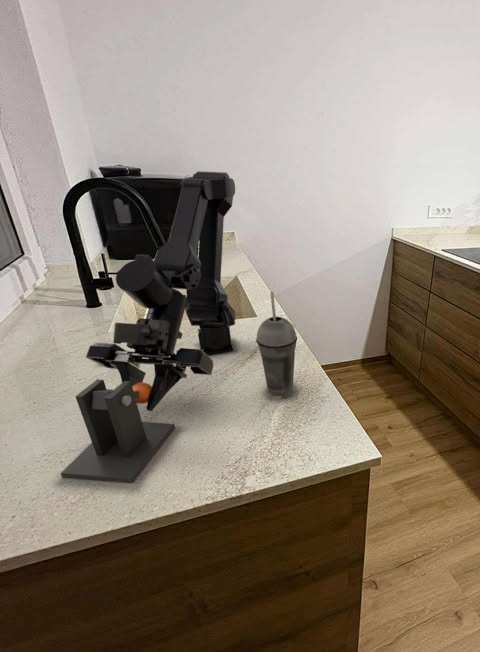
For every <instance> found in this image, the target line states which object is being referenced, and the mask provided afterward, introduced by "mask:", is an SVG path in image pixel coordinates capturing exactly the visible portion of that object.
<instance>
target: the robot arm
mask: <svg viewBox="0 0 480 652" xmlns="http://www.w3.org/2000/svg"><path fill="white" fill-rule="evenodd" d="M179 191H180V195H179V199H178V202H177V207H176V211H175V214H174V219H173V222H172V226H171V230H170V234H169V238H168V240H167V242H166V243H164V244H163V245H161V247H159V248H158V249H157V252H156V254H155V257H154V259H153V258H152V257H151V256H150V255H149V254H136V255H135V258H134V260H131V261H129V262H127V263H126V264H124V265H123V266H122V267H121V268H120V269H119V270H117V272H116V276H115V282H116V285H117V287H118V288H119V289H121V291H122V292H124V293H125V294H126V295H127V296H129V297H130V298H131V299H132V300H133V301H134V302H136V303H137V304H138V305H139V306H141V307H142V308H144V309H146V311H145V313H144V317H143V318H141V317H139V318H138V319H137V320H136V323H130V322H128V323H126V322H114V327H113V328H114V329H113V342H112V343H107V342H94V343H93V344H91V345H89V347H88V349H87V352H86V355H85V358H86V359H88V360H90V361H92V362H94V363H96V364H98V365H100V366H101V367H104V368H106V369H109V370H110V369H111V370H117V371H118V374H119V377H120V379H121V383H123V382H124V381H131V384H132V386H134V385H135V384H137V383H141V382H144V379H145V377H146V375H147V373H146V372H145V371H144V370H142V369H140V367H141V365H153V366H154V367H153V368H154V379H153V381H152V385H151V386H152V388H151V392H150V395H149V398H148V402H147V403H146V411H148V412H152V411H153V410H154V409H155V408H156V407H157V406H158V404H159V403H160V402H161V401H162V400H163V398H165V396H166V395H167V394H168V393H169V392H170V390H172V388H173V387H174V386H175V385H176V384H177V383H179V381H180V380H181V379H186V378H187V377H188V374H187V373H186V372H187V368H190V370H191V372H192V373H193V374H194V375H203V376H211V375H212V373H213V369H214V361H213V359H212V358H211V357H210V356H209V355H213V354H220V353H227V352H232V351H234V346H233V343H232V336H231V329H230V327H231V326H235V325H236V311H235V309H234V308H233V307H232V306H231V304H230V303H229V301H228V293H227V291H226V290H225V288H224V286H223V285H222V282H221V281H222V260H223V241H224V220H225V216H226V215H227V214H228V212H229V211H230V210H231V208H232V206H233V202H234V196H235V194H236V182H235V180H234V179H233V178H231V176H230V175H229V173H227V172H224V171H222V172H221V171H219V172H218V171H201V170H198V171H196V172H195V173H194V174H193V175H192V176H188V177H184V178H183V179H181V180H180V182H179ZM180 290H185V293H186V294H183V293H182V292H181V291H180ZM184 314H186V316H187V318H188V320H189V323H190V326H191V327H195V326H197V327H199V328H197V329H196V332H197V338H198V344H199V348H187V347H180V348H179V349H178V350H176V353H175V349H176V345H177V341H178V340H182V337H183V332H181V331H180V329H181V325H182V323H183V322H182V321H183V318H184ZM123 343H124V344H126V347H127V348H129V349H130V350H134V351H129V350H126V349H124V348H123V347H122V346H120V344H123Z"/></svg>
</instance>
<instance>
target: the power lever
mask: <svg viewBox="0 0 480 652" xmlns="http://www.w3.org/2000/svg"><path fill="white" fill-rule="evenodd" d="M132 387H133V391H134V395H135V398H136V402H137V404H140V405H141V404H142V405H143V404H147V403H148V398H149V395H150V392H151V388H152V385H151V384H149V383H147V382H144V381H143V382H141V383H137V384H135V385H134V386H132ZM113 390H114V389H108V388H106V390H99V391H93V402H92V409H102V410H108V408H107V405H106V402H105V399H104V398H105V397H106V396H108V395H109V394H110V393H111V392H112V391H113Z"/></svg>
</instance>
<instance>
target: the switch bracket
mask: <svg viewBox="0 0 480 652" xmlns="http://www.w3.org/2000/svg"><path fill="white" fill-rule="evenodd" d="M106 389H107V386H106V383H105V380H104V379H99V378H98V379H95V380H94V381H93V382H91V383H90V384H89V385H88V386H87V387H85V388H84V389H82V390H81V391H80V392H79V393H77V394H76V395H75V400H76V403H77V405H78V408H79V411H80V414H81V416H82V419H83V422H84V424H85V428H86V430H87V433H88V435H89V438H90V441H91V443H90V444H88V445H87V446H86V447H85V448H84V450H83V451H81V453H79V454H78V455H77V456H76V457H75V458H74V459H73V460H72V461H71V462H70V463H69V464H68V465H67V466H66V467H65V468H64V469H63V470H62V471H61V472H60V476H61V478H62V479H71V480H73V479H74V480H85V481H86V480H87V481H88V480H89V481H99V482H112V483H114V482H115V483H127V484H134V483H135V481H136V480H137V479H138V477H139V476H140V474H141V473H142V472H143V471H144V469H145V468H146V467H147V465H148V464H149V463H150V462H151V460H152V459H153V458H154V456H155V455H156V454H157V452H158V451H159V450H160V448H161V447H162V446H163V445H164V444H165V442H166V441H167V440H168V438H169V437H170V435H171V434H172V433H173V432H174V430H175V429H176V426H175V424H174V423H166V422H152V421H143V420H142V417H141V416H142V415H141V413H140V410H139V405H138V403H137V402H136V398H135V395H134V391H133V387H132V384H131V381H124V382H123V383H122V382H121V383H119V384H118V386H116V387H115V388H114V389H112V390H113V391H112V392H111V393H110V394H109V395H108V396H106V397H105V398H104V399H105V402H106V405H107V408H108V410H102V409H92V402H93V391H99V390H106Z"/></svg>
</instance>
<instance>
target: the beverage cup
mask: <svg viewBox="0 0 480 652" xmlns="http://www.w3.org/2000/svg"><path fill="white" fill-rule="evenodd" d="M269 293H270V303H271V313H272V316H271V317H268V318H266V319H265V320H264V321H262V322H261V324H260V325H259V326H258V329H257V332H256V340H255V341H256V344H257V346H258V347H257V348H258V350H259V353H260V356H261V362H262V366H263V372H264V378H265V382H266V388H267V390H268V391H267V392H268V393H269V394H270V395H272V396H275V397H280V400H283V399H288V398H289V397H291V396H292V395H293V388H294V374H295V356H296V354H295V353H296V349H297V341H298V336H297V333H296V329H295V328H294V326H293V323H291V322H290V321H289V320H288V319H286V318H284V317H282V316H277V315H276V305H275V295H274V291H270V292H269Z"/></svg>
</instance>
